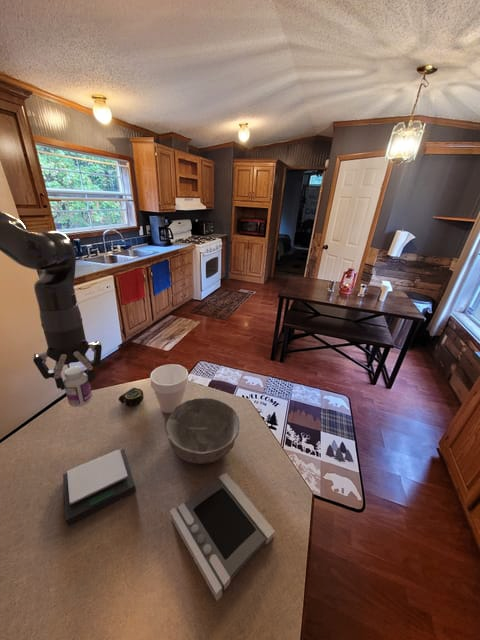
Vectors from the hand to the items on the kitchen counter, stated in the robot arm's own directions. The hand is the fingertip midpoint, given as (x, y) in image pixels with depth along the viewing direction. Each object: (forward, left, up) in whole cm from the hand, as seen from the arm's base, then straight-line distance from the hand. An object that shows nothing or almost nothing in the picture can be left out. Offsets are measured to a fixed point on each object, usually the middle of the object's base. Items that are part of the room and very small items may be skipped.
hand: (76, 383), depth 64 cm
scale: (0, -14, -22) cm, 26 cm away
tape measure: (+14, +13, -22) cm, 29 cm away
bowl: (+27, -17, -22) cm, 39 cm away
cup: (+25, +4, -22) cm, 34 cm away
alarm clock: (+21, -38, -22) cm, 49 cm away
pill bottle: (0, 0, -6) cm, 6 cm away
